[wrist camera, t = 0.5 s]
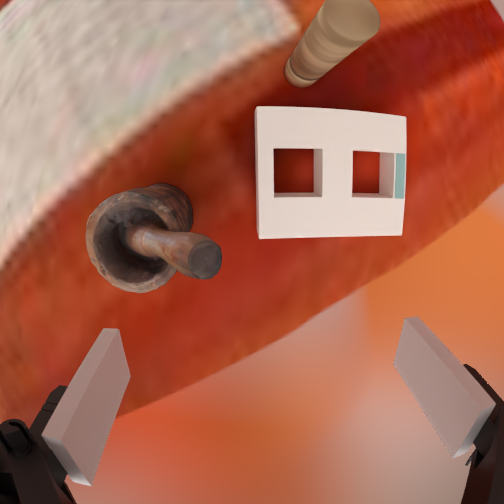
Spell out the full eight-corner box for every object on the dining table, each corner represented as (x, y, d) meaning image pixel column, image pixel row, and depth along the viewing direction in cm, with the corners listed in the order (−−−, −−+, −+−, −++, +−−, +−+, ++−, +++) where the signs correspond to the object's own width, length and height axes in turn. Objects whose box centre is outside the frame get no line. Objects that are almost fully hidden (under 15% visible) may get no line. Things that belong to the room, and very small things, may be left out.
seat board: (254, 111, 34) (256, 106, 30) (390, 119, 35) (406, 116, 31) (256, 230, 38) (259, 239, 35) (387, 227, 39) (402, 235, 35)
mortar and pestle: (201, 152, 35) (163, 151, 16) (235, 217, 38) (237, 285, 19) (119, 200, 36) (24, 247, 17) (153, 260, 39) (92, 352, 20)
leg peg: (283, 56, 32) (321, -14, 15) (316, 58, 32) (376, -4, 15) (284, 87, 34) (326, 35, 16) (318, 88, 34) (383, 43, 17)
